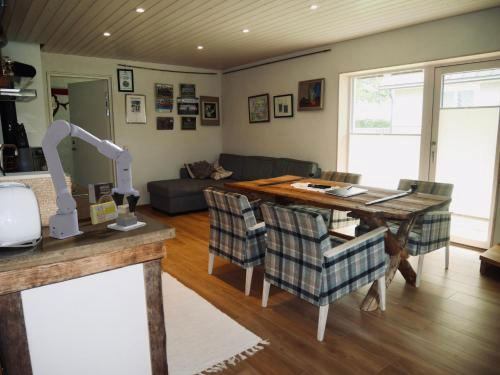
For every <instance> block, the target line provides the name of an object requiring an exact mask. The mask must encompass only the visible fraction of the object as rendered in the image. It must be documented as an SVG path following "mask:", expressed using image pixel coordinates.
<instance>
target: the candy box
mask: <svg viewBox="0 0 500 375" xmlns="http://www.w3.org/2000/svg"><path fill="white" fill-rule="evenodd" d="M90 210H91V217H90V218H91V224H92V225H96V224H97V225H98V224H102V223H106V222H109V221H113V220H116V218H118V210H117V207H116V204H115V202H114V201H112V202H107V203H103V204H98V205H93V206H90V205H89V211H90Z"/></svg>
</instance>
